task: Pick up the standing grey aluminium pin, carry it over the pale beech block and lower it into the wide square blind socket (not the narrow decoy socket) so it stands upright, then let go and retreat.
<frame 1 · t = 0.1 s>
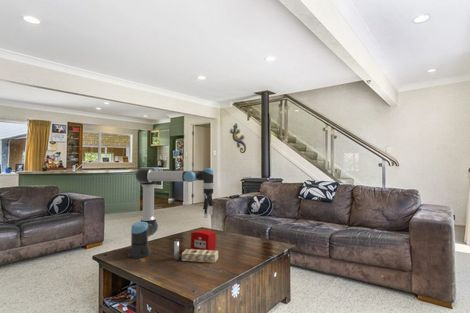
hand: (208, 216, 212), 28 cm above the table, fingers open, 13 cm apart
bore block: (200, 259, 197), on the table
pin: (176, 258, 198), on the table
fire alarm: (203, 250, 217), on the table
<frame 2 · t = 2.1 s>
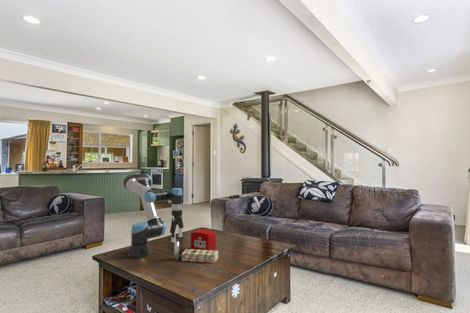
hand: (177, 239, 198), 14 cm above the table, fingers open, 13 cm apart
nothing on the table moved.
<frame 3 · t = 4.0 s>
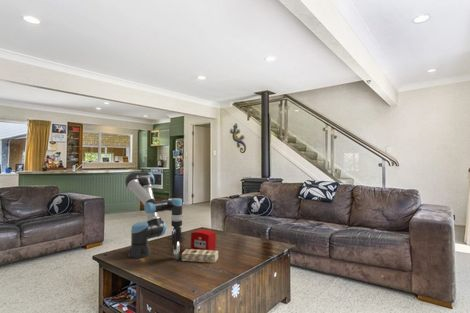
hand: (176, 252, 198), 4 cm above the table, fingers closed on pin, 3 cm apart
pin: (176, 258, 198), on the table, touching gripper
everything else where it was.
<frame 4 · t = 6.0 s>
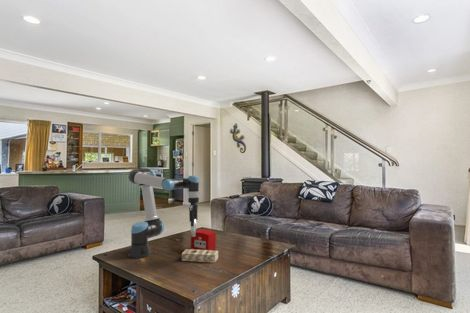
hand: (193, 229, 198), 21 cm above the table, fingers closed on pin, 3 cm apart
pin: (193, 236, 198), point 16 cm above the table, touching gripper
everything else where it was.
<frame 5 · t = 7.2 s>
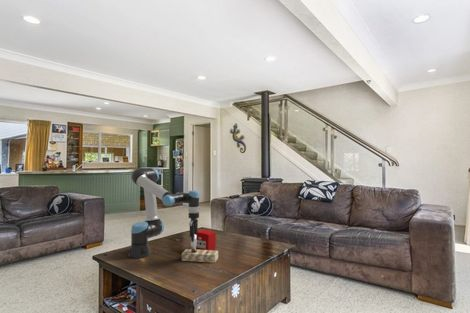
hand: (193, 244, 198), 10 cm above the table, fingers closed on pin, 3 cm apart
pin: (193, 251, 198), point 5 cm above the table, touching gripper
everything else where it was.
when the fingers open (7 cm above the table, at t = 8.3 s): pin drops 1 cm, resting on bore block.
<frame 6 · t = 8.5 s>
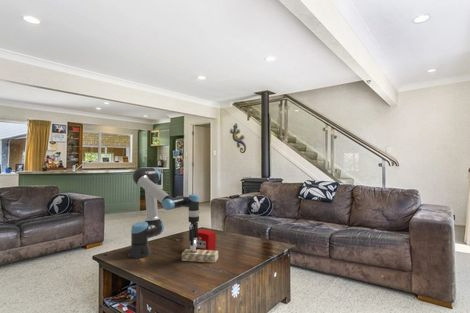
hand: (193, 248, 198), 7 cm above the table, fingers open, 6 cm apart
pin: (193, 257, 198), point 1 cm above the table, touching bore block
everything else where it was.
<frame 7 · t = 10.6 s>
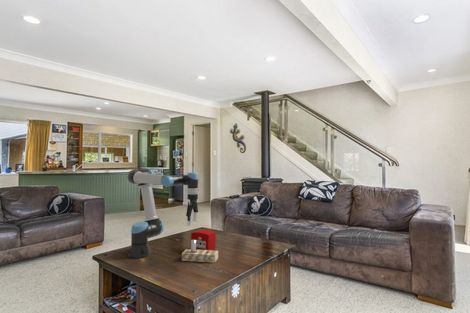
hand: (192, 223, 199), 25 cm above the table, fingers open, 13 cm apart
nothing on the table moved.
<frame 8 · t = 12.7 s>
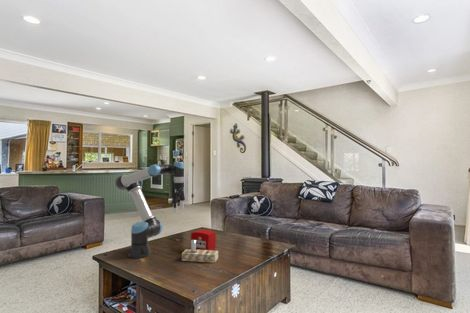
hand: (178, 210, 208), 33 cm above the table, fingers open, 13 cm apart
nothing on the table moved.
at the end: pin 0.0 cm from the target spot on the bore block, point 1.1 cm above the bore block's base; pin tilted 0°; the gripper is holding nothing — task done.
